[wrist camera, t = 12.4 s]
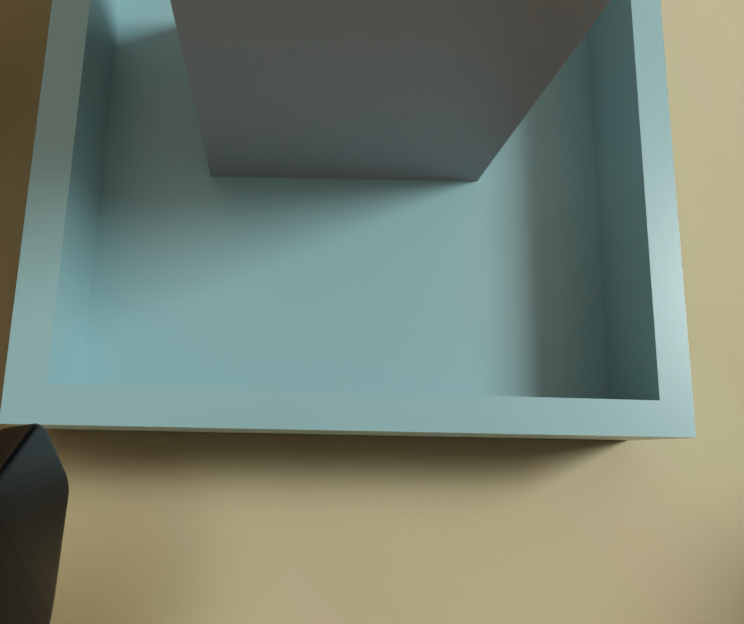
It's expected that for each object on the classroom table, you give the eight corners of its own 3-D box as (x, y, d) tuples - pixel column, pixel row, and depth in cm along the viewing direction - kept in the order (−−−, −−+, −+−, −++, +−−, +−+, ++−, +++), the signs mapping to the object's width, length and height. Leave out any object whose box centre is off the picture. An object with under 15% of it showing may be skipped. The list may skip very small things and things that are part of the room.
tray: (628, 440, 18) (696, 437, 15) (48, 429, 16) (-2, 423, 13) (598, -41, 21) (650, -120, 18) (106, -98, 19) (76, -196, 16)
